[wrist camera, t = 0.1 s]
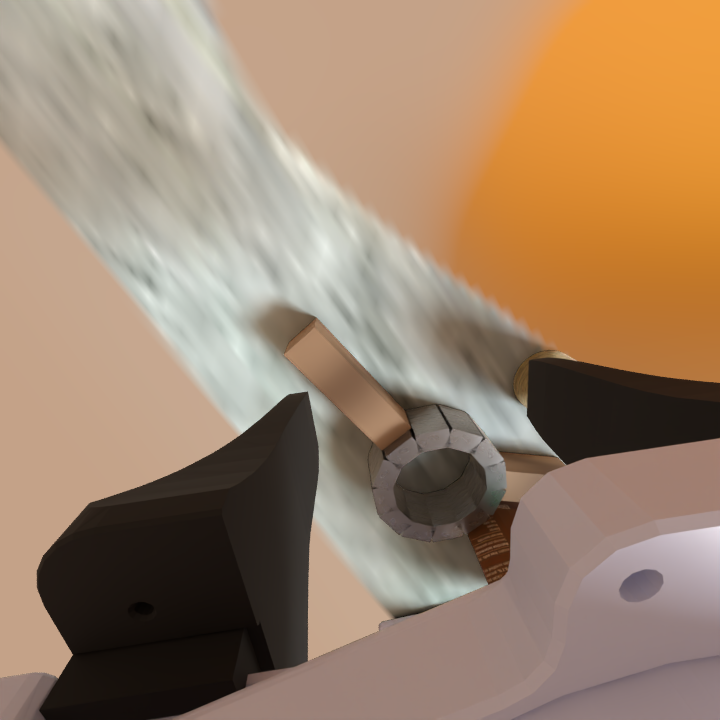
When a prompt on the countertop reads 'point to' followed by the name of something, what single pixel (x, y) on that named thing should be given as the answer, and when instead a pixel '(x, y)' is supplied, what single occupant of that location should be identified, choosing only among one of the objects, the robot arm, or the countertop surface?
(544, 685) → the robot arm
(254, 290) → the countertop surface
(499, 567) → the food container
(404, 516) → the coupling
